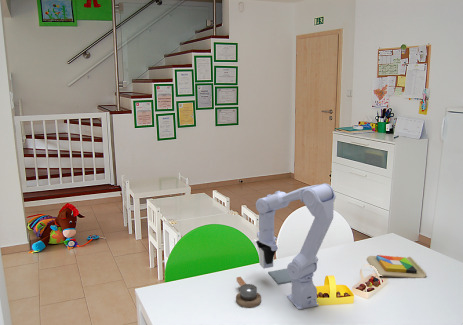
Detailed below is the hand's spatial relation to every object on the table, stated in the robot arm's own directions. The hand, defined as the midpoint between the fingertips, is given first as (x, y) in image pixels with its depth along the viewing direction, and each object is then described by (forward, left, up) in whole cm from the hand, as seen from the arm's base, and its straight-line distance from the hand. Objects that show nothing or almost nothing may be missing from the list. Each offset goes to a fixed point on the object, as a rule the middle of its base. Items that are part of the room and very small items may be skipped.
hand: (266, 261), depth 160 cm
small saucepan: (-7, +11, -7) cm, 15 cm away
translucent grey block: (0, 0, -2) cm, 2 cm away
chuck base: (-10, +11, -9) cm, 18 cm away
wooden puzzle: (-7, -55, -10) cm, 56 cm away
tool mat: (+2, -9, -9) cm, 12 cm away
